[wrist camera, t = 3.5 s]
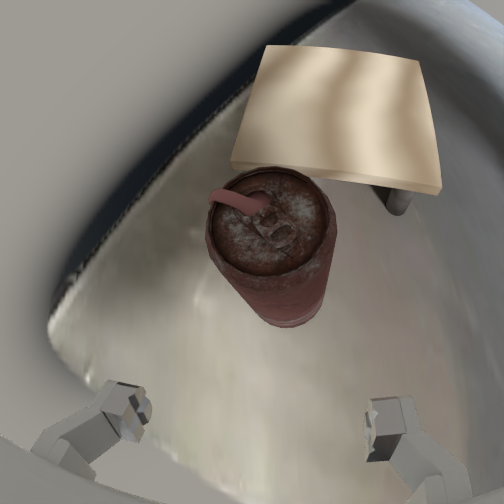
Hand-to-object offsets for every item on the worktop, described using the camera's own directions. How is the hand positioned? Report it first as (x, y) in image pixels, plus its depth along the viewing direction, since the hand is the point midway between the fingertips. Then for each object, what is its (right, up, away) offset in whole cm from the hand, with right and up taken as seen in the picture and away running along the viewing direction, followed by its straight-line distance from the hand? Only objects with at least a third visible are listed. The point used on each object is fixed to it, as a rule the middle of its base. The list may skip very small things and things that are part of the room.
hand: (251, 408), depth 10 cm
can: (+3, +2, +17) cm, 17 cm away
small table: (+9, +16, +21) cm, 28 cm away
